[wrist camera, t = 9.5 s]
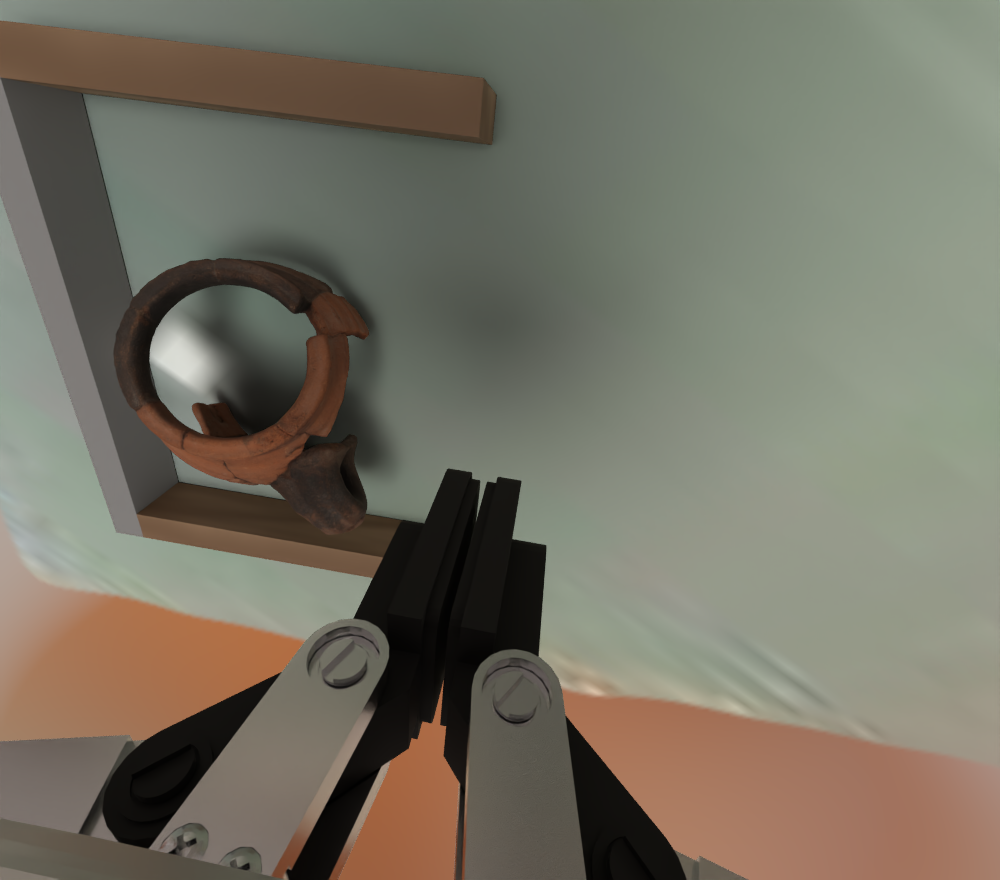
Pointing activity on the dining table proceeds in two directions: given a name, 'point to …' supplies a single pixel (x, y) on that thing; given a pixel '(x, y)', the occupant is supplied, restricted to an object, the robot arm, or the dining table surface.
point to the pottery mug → (225, 445)
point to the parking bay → (99, 264)
